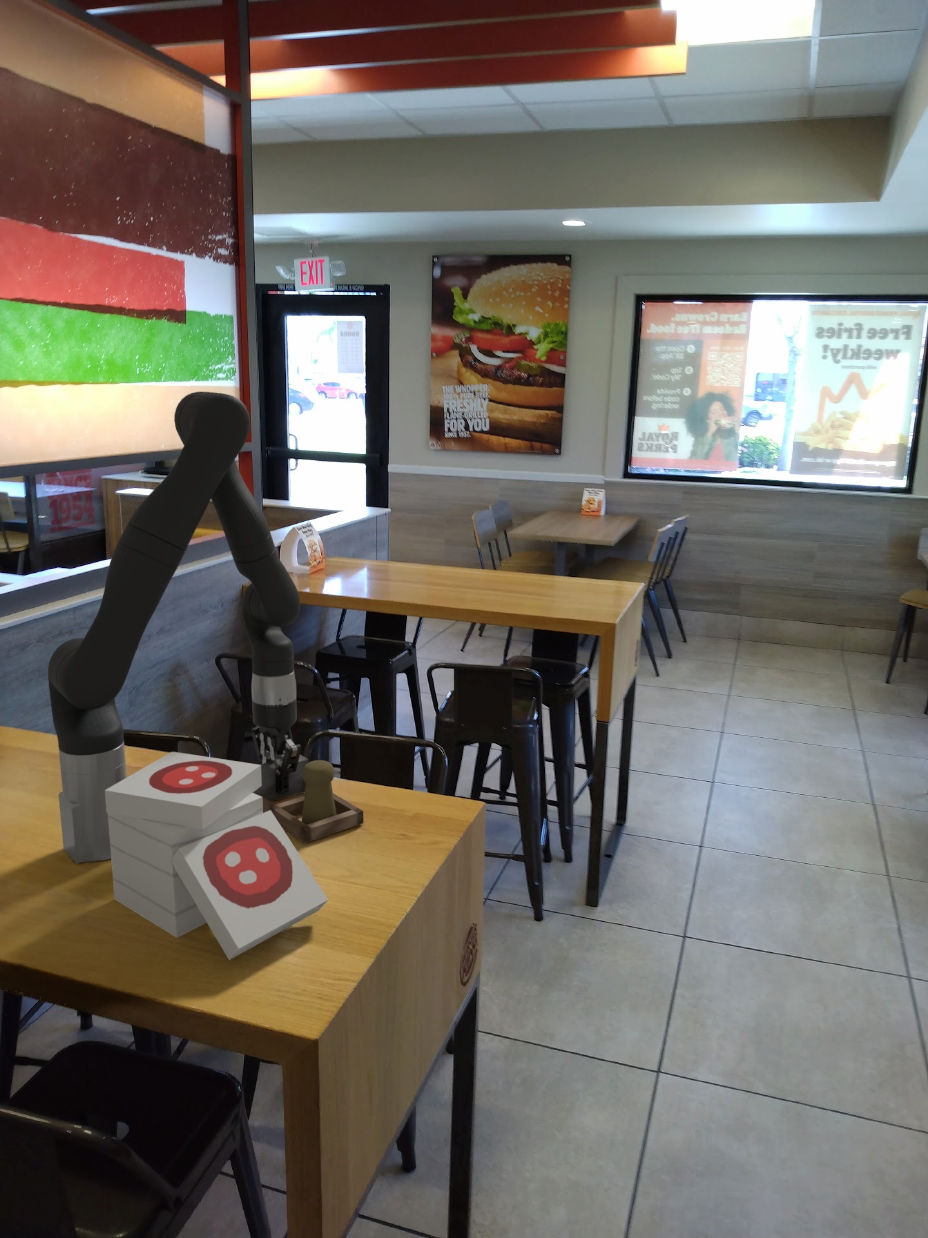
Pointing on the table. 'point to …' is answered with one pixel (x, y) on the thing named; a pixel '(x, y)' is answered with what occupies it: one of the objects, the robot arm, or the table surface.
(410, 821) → the table surface
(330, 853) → the table surface
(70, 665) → the robot arm
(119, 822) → the pizza boxes
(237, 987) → the table surface
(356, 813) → the divided wooden tray frame
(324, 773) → the cork
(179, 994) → the table surface
